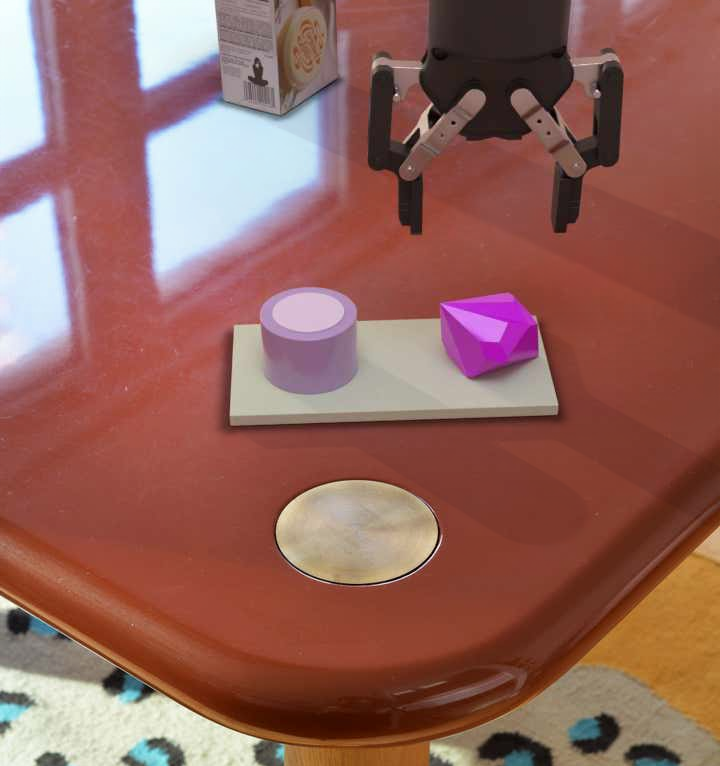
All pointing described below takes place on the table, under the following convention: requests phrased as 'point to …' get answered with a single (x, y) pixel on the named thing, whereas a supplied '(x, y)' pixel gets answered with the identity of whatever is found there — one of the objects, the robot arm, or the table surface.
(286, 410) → the board
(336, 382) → the lavender cylindrical tub
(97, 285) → the table surface
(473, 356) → the crystal
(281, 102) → the cookie box
